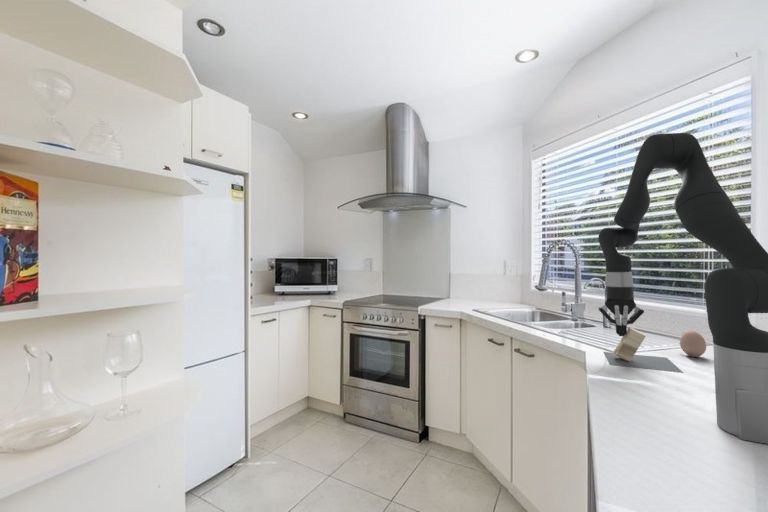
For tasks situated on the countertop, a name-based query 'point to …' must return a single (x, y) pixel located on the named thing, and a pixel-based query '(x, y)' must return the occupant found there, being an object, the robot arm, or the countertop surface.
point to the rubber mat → (643, 362)
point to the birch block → (629, 344)
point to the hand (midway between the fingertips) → (621, 335)
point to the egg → (693, 343)
